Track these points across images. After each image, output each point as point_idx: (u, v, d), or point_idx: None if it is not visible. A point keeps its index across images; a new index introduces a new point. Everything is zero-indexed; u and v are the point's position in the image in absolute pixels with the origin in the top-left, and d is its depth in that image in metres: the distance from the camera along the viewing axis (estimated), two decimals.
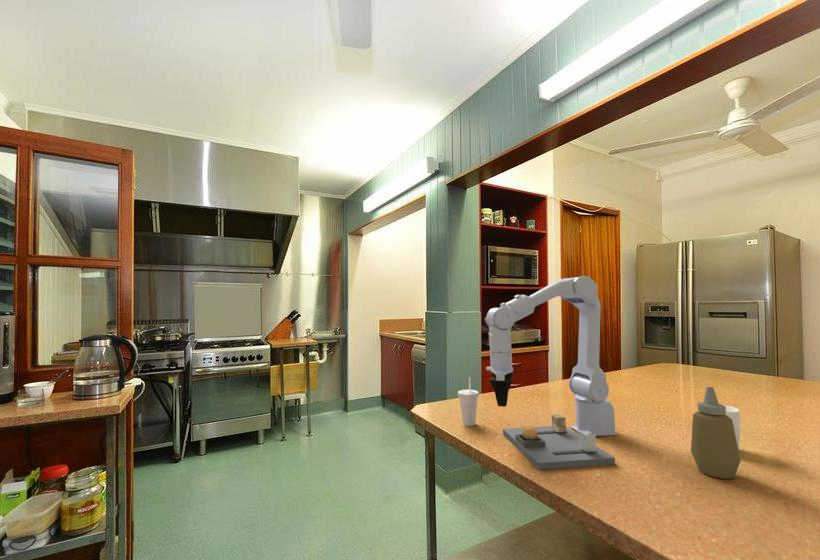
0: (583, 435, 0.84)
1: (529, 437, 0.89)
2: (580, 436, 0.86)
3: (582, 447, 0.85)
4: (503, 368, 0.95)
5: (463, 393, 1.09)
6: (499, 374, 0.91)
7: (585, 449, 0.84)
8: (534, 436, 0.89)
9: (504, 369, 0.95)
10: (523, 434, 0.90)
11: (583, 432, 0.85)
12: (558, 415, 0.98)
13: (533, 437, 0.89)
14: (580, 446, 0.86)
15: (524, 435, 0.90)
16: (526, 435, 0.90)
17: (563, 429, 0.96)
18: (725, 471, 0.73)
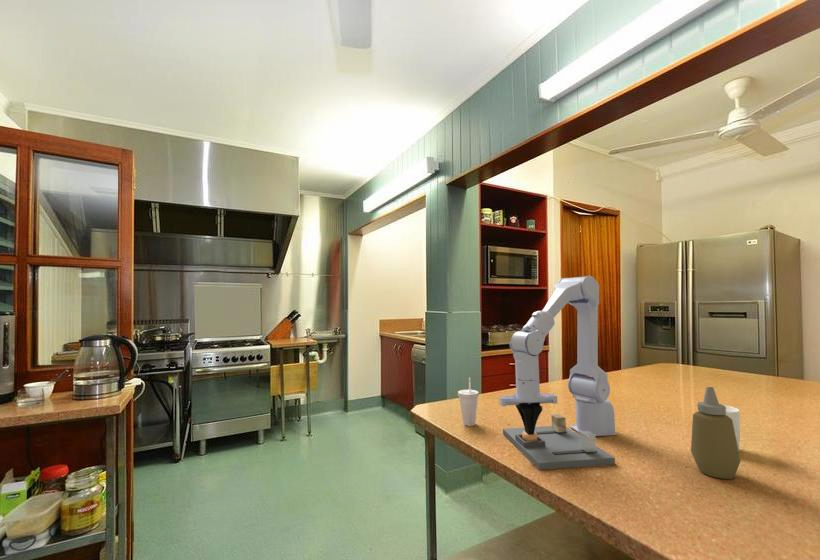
0: (583, 435, 0.84)
1: None
2: (580, 436, 0.86)
3: (582, 447, 0.85)
4: (518, 396, 0.90)
5: (463, 393, 1.09)
6: (500, 399, 0.91)
7: (585, 449, 0.84)
8: None
9: (519, 397, 0.90)
10: (523, 439, 0.90)
11: (583, 432, 0.85)
12: (558, 415, 0.98)
13: None
14: (580, 446, 0.86)
15: (524, 440, 0.90)
16: (526, 440, 0.89)
17: (563, 429, 0.96)
18: (725, 471, 0.73)
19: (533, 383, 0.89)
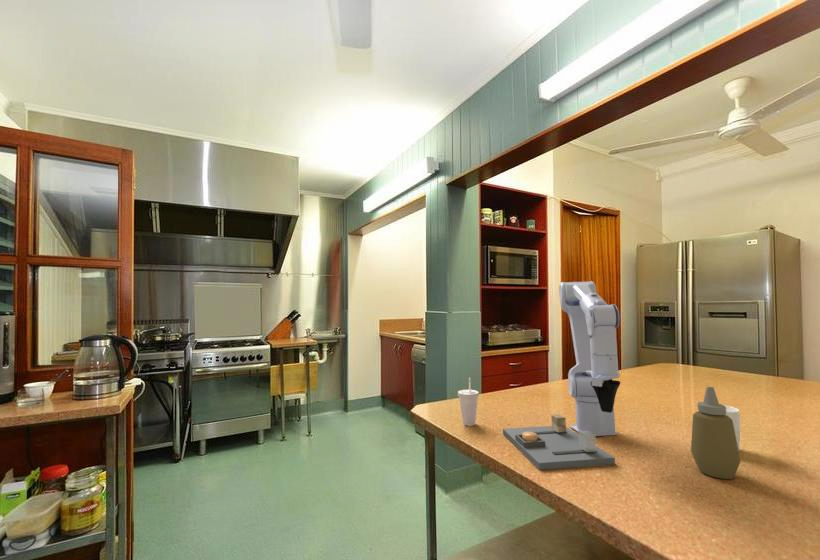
0: (583, 435, 0.84)
1: None
2: (580, 436, 0.86)
3: (582, 447, 0.85)
4: (604, 373, 0.85)
5: (463, 393, 1.09)
6: (595, 379, 0.82)
7: (585, 449, 0.84)
8: None
9: (605, 374, 0.84)
10: None
11: (583, 432, 0.85)
12: (558, 415, 0.98)
13: None
14: (580, 446, 0.86)
15: None
16: (526, 441, 0.89)
17: (563, 429, 0.96)
18: (725, 471, 0.73)
19: None
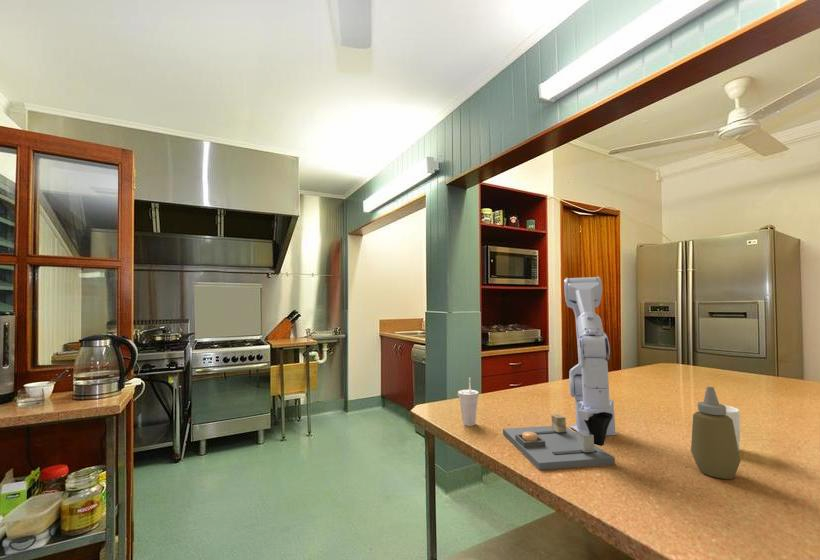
0: (581, 435, 0.84)
1: None
2: (578, 436, 0.86)
3: (580, 447, 0.85)
4: (593, 406, 0.84)
5: (463, 393, 1.09)
6: (581, 412, 0.81)
7: (583, 449, 0.84)
8: None
9: (595, 407, 0.83)
10: None
11: (581, 432, 0.85)
12: (558, 415, 0.98)
13: None
14: (578, 446, 0.86)
15: None
16: (526, 441, 0.89)
17: (563, 429, 0.96)
18: (725, 471, 0.73)
19: (608, 390, 0.84)
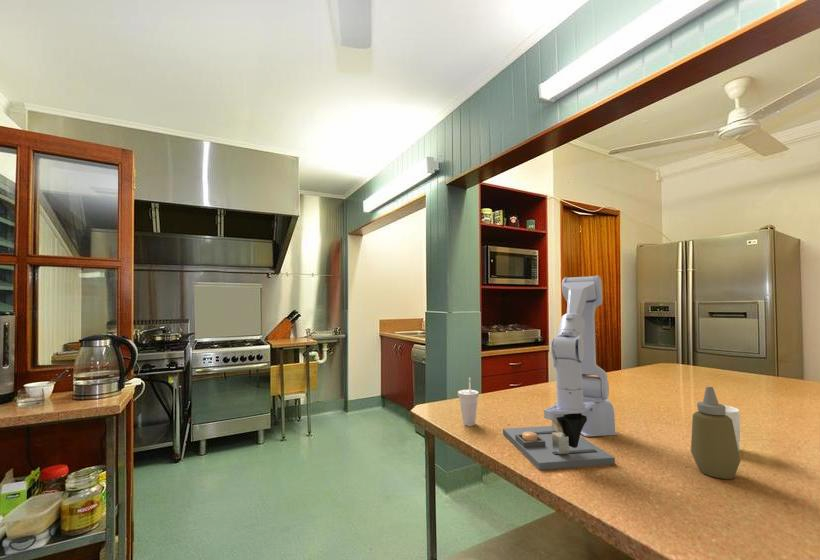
0: (556, 437, 0.84)
1: None
2: (554, 438, 0.85)
3: (555, 449, 0.84)
4: (563, 407, 0.83)
5: (463, 393, 1.09)
6: (546, 411, 0.82)
7: (558, 451, 0.83)
8: None
9: (564, 408, 0.83)
10: None
11: (557, 434, 0.85)
12: None
13: None
14: (554, 448, 0.85)
15: None
16: (526, 441, 0.89)
17: None
18: (725, 471, 0.73)
19: (580, 392, 0.83)
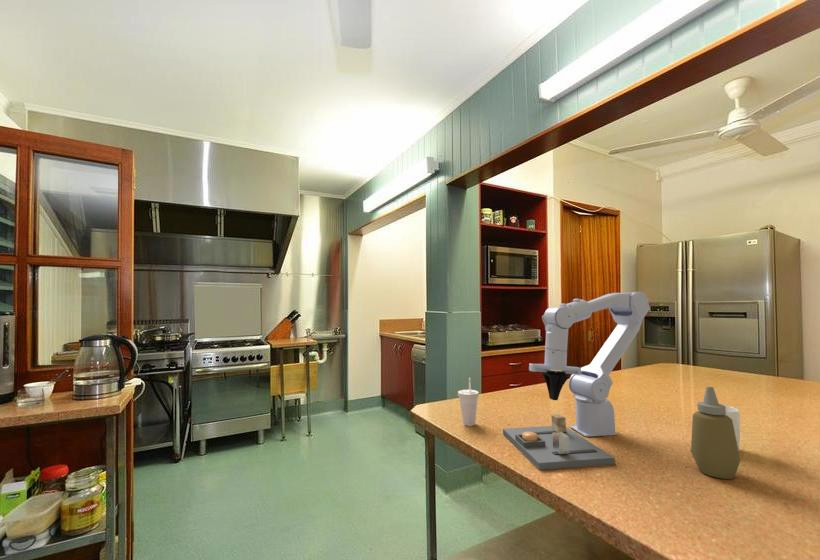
0: (557, 437, 0.84)
1: None
2: (554, 438, 0.85)
3: (556, 449, 0.84)
4: (547, 364, 0.99)
5: (463, 393, 1.09)
6: (530, 365, 0.99)
7: (558, 451, 0.83)
8: None
9: (547, 365, 0.99)
10: None
11: (557, 434, 0.85)
12: (558, 415, 0.98)
13: None
14: (554, 448, 0.85)
15: None
16: (526, 441, 0.89)
17: (563, 429, 0.96)
18: (725, 470, 0.73)
19: (562, 353, 0.98)
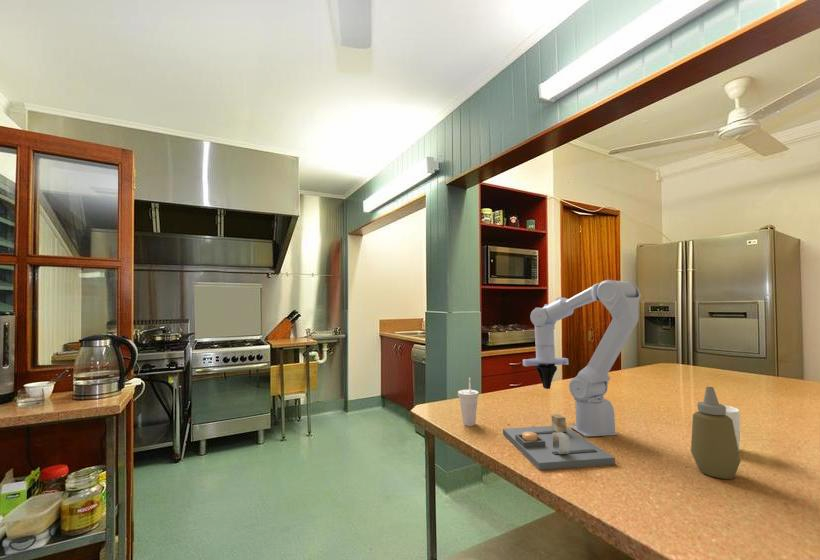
0: (557, 437, 0.84)
1: None
2: (554, 438, 0.85)
3: (556, 449, 0.84)
4: (538, 358, 1.14)
5: (463, 393, 1.09)
6: (523, 361, 1.15)
7: (558, 451, 0.83)
8: None
9: (538, 359, 1.14)
10: None
11: (557, 434, 0.85)
12: (558, 415, 0.98)
13: None
14: (554, 448, 0.85)
15: None
16: (526, 441, 0.89)
17: (563, 429, 0.96)
18: (725, 471, 0.73)
19: (550, 348, 1.13)
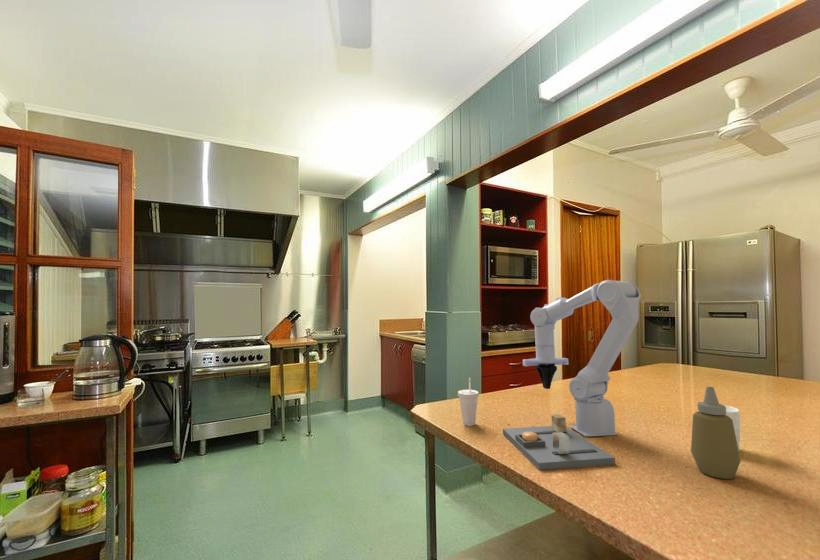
0: (557, 437, 0.84)
1: None
2: (554, 438, 0.85)
3: (556, 449, 0.84)
4: (538, 358, 1.14)
5: (463, 393, 1.09)
6: (523, 361, 1.15)
7: (558, 451, 0.83)
8: None
9: (538, 359, 1.14)
10: None
11: (557, 434, 0.85)
12: (558, 415, 0.98)
13: None
14: (554, 448, 0.85)
15: None
16: (526, 441, 0.89)
17: (563, 429, 0.96)
18: (725, 471, 0.73)
19: (550, 348, 1.13)
